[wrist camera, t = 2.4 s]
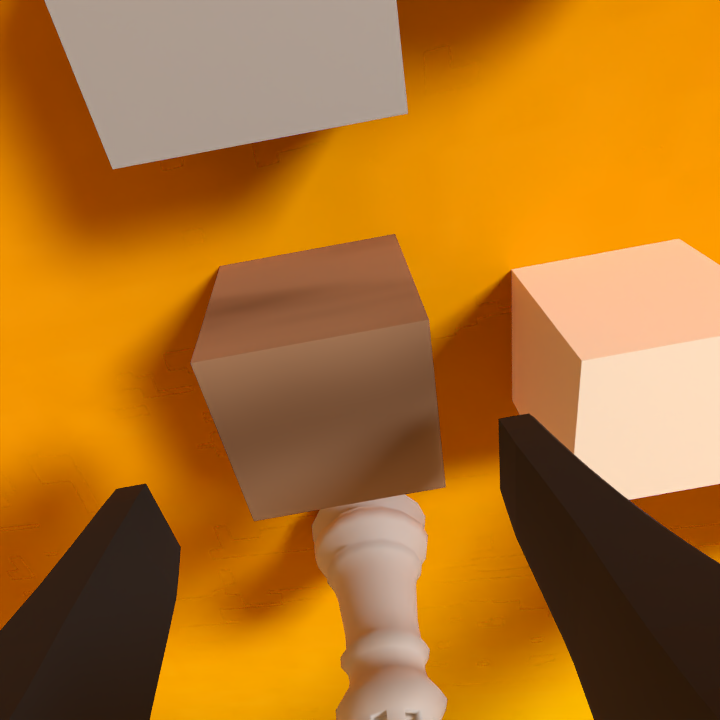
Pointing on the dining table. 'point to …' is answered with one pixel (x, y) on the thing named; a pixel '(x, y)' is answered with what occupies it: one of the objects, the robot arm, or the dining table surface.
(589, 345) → the cream cube
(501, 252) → the dining table surface
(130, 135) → the light grey cube
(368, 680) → the rook chess piece
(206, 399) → the walnut cube
